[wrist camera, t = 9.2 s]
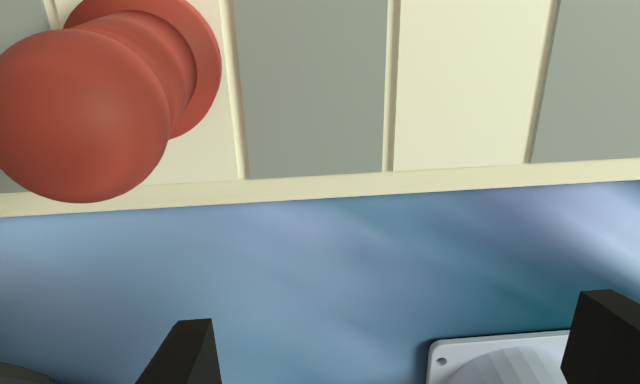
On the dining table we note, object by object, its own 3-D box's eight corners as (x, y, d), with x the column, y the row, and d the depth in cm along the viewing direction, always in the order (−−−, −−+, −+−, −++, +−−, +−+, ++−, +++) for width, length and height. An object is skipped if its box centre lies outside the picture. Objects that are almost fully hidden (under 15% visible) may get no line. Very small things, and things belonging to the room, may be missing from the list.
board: (666, 166, 19) (689, 178, 18) (-71, 208, 17) (-93, 225, 16) (763, -135, 15) (801, -142, 14) (-214, -118, 13) (-258, -125, 12)
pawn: (229, 127, 16) (195, 251, 9) (91, 134, 15) (-45, 266, 9) (212, -19, 14) (154, 5, 7) (54, -14, 13) (-155, 15, 7)
